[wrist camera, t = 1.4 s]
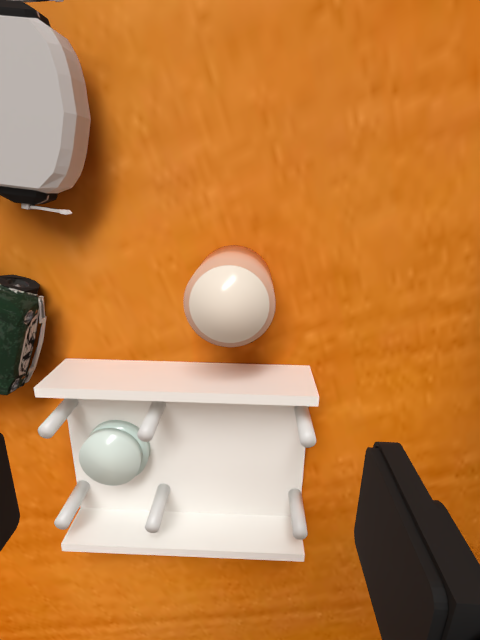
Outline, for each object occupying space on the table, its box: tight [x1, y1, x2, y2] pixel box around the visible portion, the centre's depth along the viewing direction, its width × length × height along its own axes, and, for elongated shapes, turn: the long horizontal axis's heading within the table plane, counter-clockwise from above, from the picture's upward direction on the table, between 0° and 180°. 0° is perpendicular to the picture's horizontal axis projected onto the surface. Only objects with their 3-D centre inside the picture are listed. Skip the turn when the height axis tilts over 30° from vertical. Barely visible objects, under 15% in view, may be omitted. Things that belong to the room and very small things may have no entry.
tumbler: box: [184, 245, 276, 347], centre depth 28 cm, size 6×6×6 cm
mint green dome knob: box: [79, 420, 150, 486], centre depth 34 cm, size 6×6×2 cm
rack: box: [34, 359, 319, 562], centre depth 33 cm, size 21×16×6 cm
